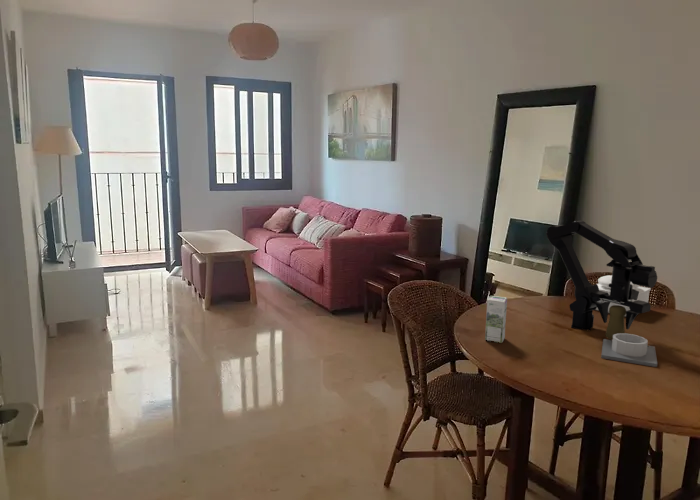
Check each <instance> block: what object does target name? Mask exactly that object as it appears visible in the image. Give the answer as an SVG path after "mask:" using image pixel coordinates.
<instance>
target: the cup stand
mask: <svg viewBox="0 0 700 500" xmlns="http://www.w3.org/2000/svg"><path fill="white" fill-rule="evenodd" d="M648 341H649V340H648V339H647V338H645V337H644V336H641V335H637V334H633V333H628V332H627V333H626V332H625V333H617V334H614V335H613V339H608V338H603V339H602V347H601V355H600V359H604V360H605V359H606V360H612V361H615V362H616V361H617V362H623V363H630V364H636V365H641V366H647V367H653V368H657V367H658V359H657V353H656V346H653V345H648Z"/></svg>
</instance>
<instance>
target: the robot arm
mask: <svg viewBox="0 0 700 500" xmlns="http://www.w3.org/2000/svg"><path fill="white" fill-rule="evenodd" d="M576 234H577V235H579V236H581V237H583V238H584V239H585V240H587V241H589V242H591V243H592V244H594V245H596V246H597V247H599V248H601V249H602V250H604V251H605V253H606V255H607V256H608V257H609V258H611V260H610V262H608V263H606V267H611V268H612V274H611V275H612V280H611V283H610V284H609V287H611V290H610V295H609V294H608V293H607V292H603V291H599V288H598V286H597V284H598V283H596V284H592V283H591V282H590V281H589V280H588V277H587V275H586V273H585V271H584V268H583V267H582V264H581V262H580V260H579V257H578V255H577V254H576V251H575V249H574V247H573V235H576ZM545 236H546V238H547V240H548V241H549V243H550V244H551V245H552V247H554V248H555V249H556V250H557V251H558V253H559V255H560V257H561V258H562V261H563V264H564V265H565V268H566V270H567V272H568V274H569V276H570V278H571V281H572V283H573V285H574V297H575V301H573V302H571V303H570V304H568V305H569V310H570V312H572V321H571V328H572V329H578V330H585V331H591V330H592V328H593V327H594V321H595V320H594V319H595V315H594V314H593V313H594V311H598V310H599V311H598V313H599V314H600V316H601V320H602V321H603V323H604V324H606V323H607V322H608V315H609V313H608V307H609V304H610V302H612V303H616V304H620V305H624V306H628V307H629V309H630V310H628V311H626V317H625V329H626V330H629V329H630V328H631V326H632V324H633V322H634V320H635V319H636V317H637V315H639V314H644V313H648V312H651V304H650V302H649V301H648V302H644V301H640V300H637V298H638V294H639V291H636V290H634V289H632V287H633V286H632V284H630V282H632V283H633V284H636V285H639V286H640V287H646V288H651V289H652V288H654V287H655V285H656V284H657V281H658V274H657V271H656V269H655V268H656V266H652V265H644V263H643V262H642V260H641V258H640V257H639V255H638V253H637V247H636V246H635V245H634V244H632V243H629V242H626V241H623V240H619V239H615V238H613V237H611V236H609V235H607V234H606V233H603V232H602V231H600V230H598V229H596V227H595V228H594V227H593V226H592V225H590V224H588V223H587V222H585V220H574V221H572V222H570V223H565V224H557V225H556V224H555V225H551V226H550V227H548V228H547V230H546V234H545ZM615 300H616V301H615ZM628 300H637V301H634V302H631V301H628ZM623 302H624V303H623ZM596 308H598V310H596Z"/></svg>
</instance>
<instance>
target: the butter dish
mask: <svg viewBox="0 0 700 500" xmlns="http://www.w3.org/2000/svg"><path fill="white" fill-rule="evenodd" d="M611 280H612V274H611V275H604V276H603V275H602V276H601V277H599V278H598V279H597V282H598V283H596V284H597V286H598V288H599V291H603V292H607V293H608V294H609V295H610V290H611V287H609V284H610V283H611ZM630 284H632V286H633V287H632V289H634V290H636V291H639V294H638V298H637V300H640V301H644V302H649V298H650V297H649V296H650V291H651V290H652V288H650V287H645V286H640V285H636V284H633V283H632V282H630ZM637 300H628V301H631V302H634V301H637ZM615 301H616V300H615ZM623 303H624V302H623ZM613 305H619V306H623V307H625V309H626V311H628V310H630V309H629V307H628V306H624V305H620V304H616V303H612V302H610V304H609V307H608V314H610V313H609V309H610V307H611V306H613ZM595 311H598V312H599V310H598V308H596V310H595ZM624 318H626V315H625V316H624Z"/></svg>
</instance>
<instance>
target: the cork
mask: <svg viewBox="0 0 700 500" xmlns="http://www.w3.org/2000/svg"><path fill="white" fill-rule="evenodd" d="M608 314H610V316H609V320H608V324H607V328H606V331H605V334H604V336H605V337H606V339H608V340H613V335H614V334H617V333H626V331H625V315H626V309H625V307H623V306H619V305H613V306H611V307H610V309H609V313H608Z"/></svg>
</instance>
